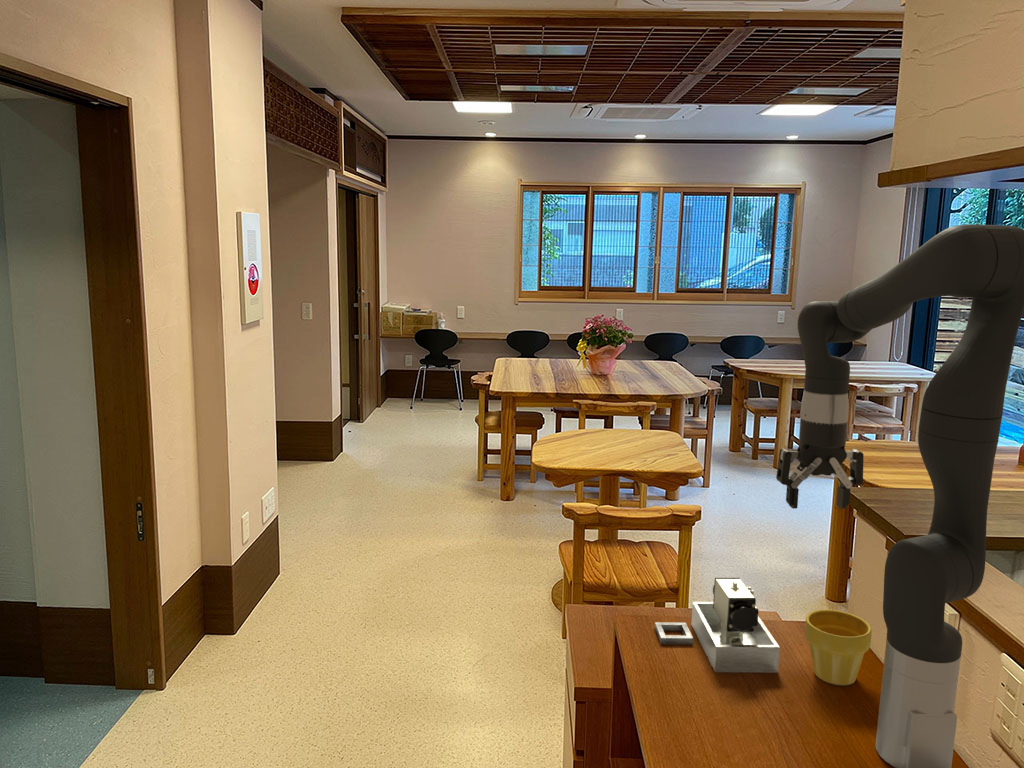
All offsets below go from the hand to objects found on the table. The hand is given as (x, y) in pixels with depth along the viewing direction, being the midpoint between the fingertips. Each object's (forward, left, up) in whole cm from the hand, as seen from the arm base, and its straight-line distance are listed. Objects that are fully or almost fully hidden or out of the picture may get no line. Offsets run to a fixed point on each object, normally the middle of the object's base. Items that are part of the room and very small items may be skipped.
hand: (817, 507), depth 129 cm
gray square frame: (+6, +23, -28) cm, 37 cm away
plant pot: (-7, -2, -28) cm, 29 cm away
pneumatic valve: (+2, +13, -27) cm, 30 cm away
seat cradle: (+2, +13, -28) cm, 31 cm away
